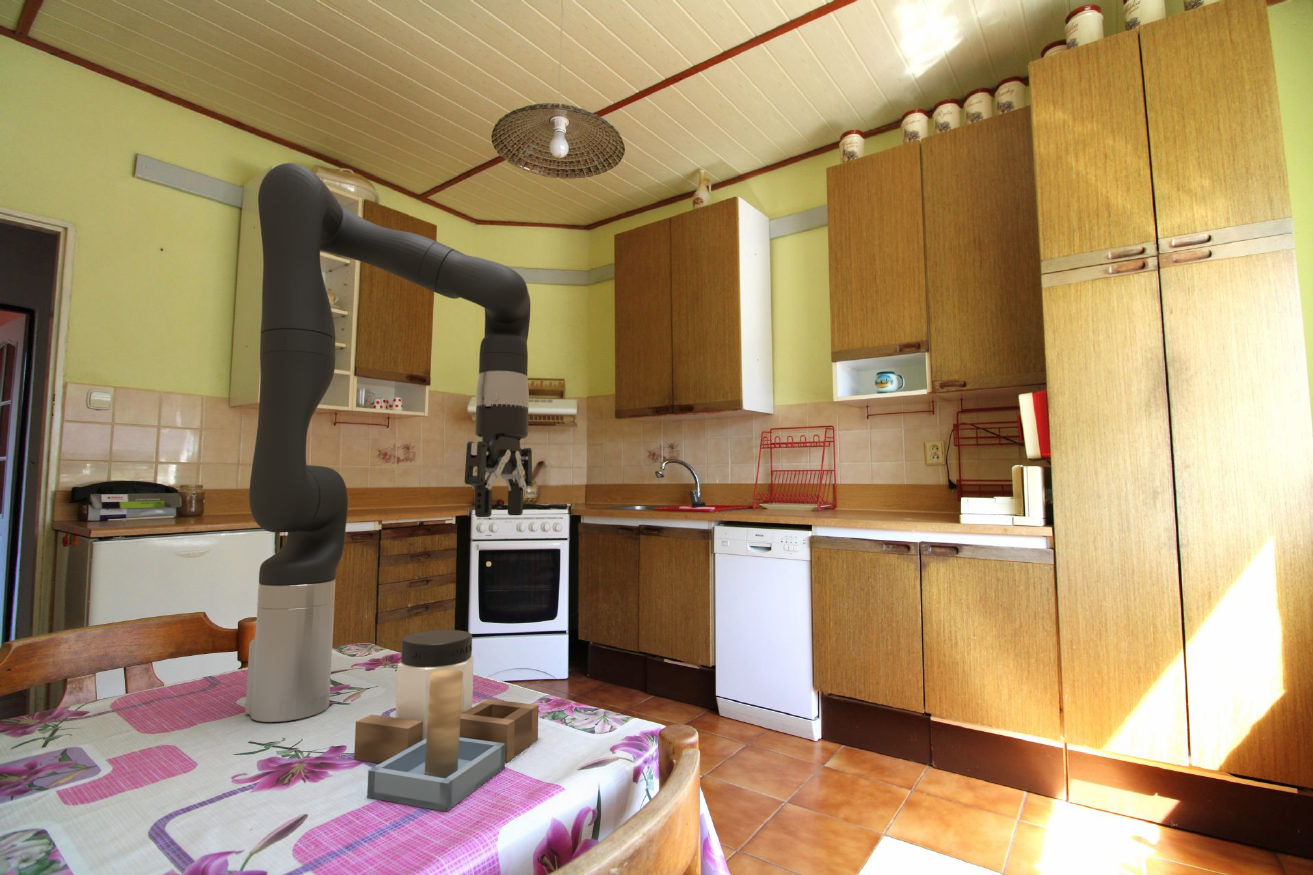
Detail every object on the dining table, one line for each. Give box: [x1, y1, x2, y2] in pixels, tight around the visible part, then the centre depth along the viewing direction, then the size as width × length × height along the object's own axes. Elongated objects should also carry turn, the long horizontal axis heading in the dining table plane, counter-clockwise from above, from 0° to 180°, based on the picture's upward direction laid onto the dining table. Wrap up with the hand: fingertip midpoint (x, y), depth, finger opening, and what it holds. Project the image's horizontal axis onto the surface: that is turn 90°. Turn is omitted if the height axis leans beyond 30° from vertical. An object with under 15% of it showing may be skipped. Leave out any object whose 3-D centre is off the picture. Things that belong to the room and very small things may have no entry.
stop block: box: [353, 714, 423, 764], centre depth 70 cm, size 7×2×4 cm, turn 72°
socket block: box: [459, 698, 540, 764], centre depth 73 cm, size 7×7×4 cm
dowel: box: [424, 670, 463, 778], centre depth 65 cm, size 3×3×10 cm
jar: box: [394, 629, 475, 740], centre depth 76 cm, size 9×8×12 cm
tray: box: [366, 737, 506, 813], centre depth 64 cm, size 9×10×2 cm
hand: (499, 516), depth 92 cm, fingers open, 8 cm apart
